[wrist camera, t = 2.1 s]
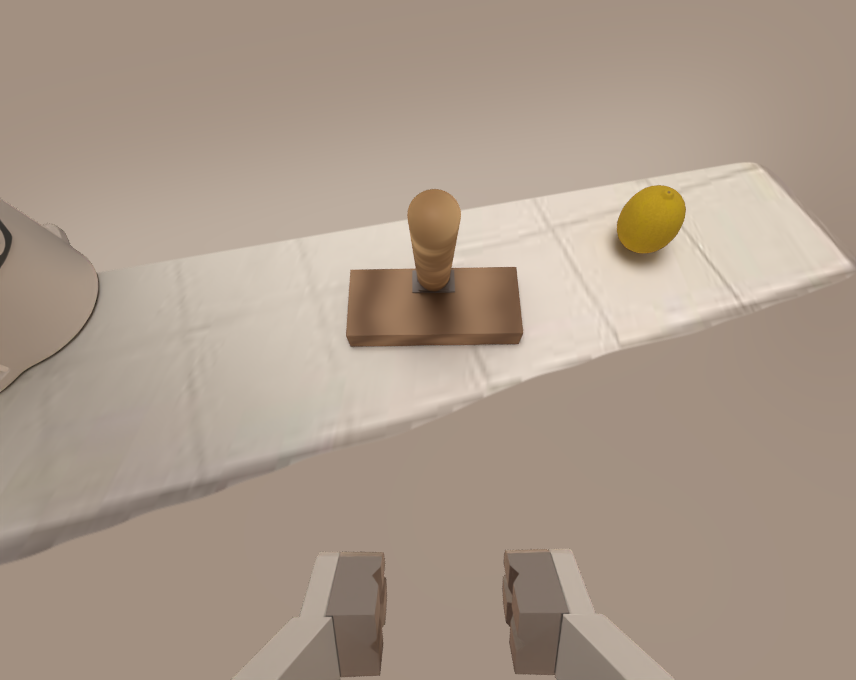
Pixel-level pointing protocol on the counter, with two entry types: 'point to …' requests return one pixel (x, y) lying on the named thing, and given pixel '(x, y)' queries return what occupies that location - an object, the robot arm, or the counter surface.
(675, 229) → the lemon
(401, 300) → the brown wooden block
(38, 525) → the counter surface
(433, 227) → the tan wooden peg
